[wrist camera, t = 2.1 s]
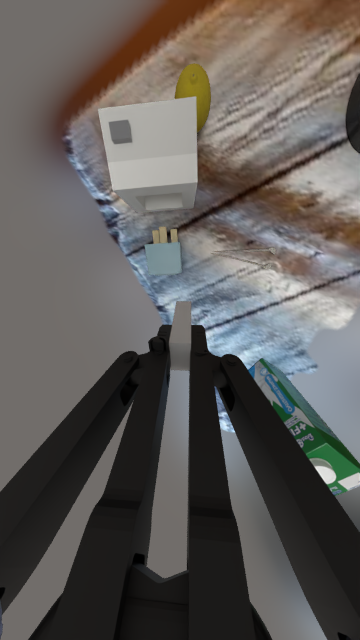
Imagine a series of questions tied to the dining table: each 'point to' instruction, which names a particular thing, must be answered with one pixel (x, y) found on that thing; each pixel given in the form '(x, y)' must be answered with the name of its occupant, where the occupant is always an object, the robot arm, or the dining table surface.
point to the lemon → (195, 90)
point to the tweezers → (252, 251)
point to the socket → (152, 153)
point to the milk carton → (308, 429)
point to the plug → (164, 254)
